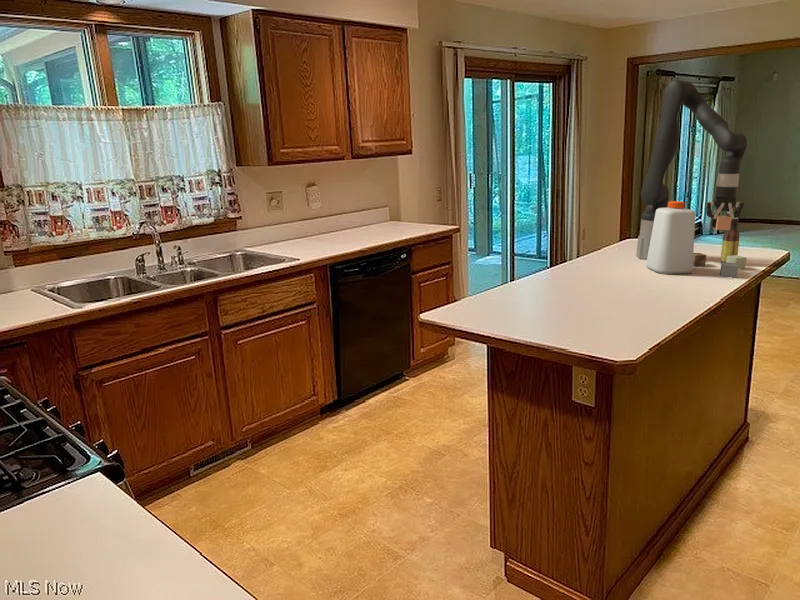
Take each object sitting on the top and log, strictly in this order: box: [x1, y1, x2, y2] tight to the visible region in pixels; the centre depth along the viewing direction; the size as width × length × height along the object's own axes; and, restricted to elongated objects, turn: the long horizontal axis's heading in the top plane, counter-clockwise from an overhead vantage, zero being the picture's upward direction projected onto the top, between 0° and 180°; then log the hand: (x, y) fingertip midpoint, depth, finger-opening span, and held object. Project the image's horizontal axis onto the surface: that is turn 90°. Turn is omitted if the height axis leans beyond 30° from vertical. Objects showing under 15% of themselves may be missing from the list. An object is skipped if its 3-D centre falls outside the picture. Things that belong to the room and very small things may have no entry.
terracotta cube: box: [712, 215, 732, 231], centre depth 237 cm, size 5×5×5 cm
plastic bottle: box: [645, 200, 696, 275], centre depth 238 cm, size 15×15×28 cm
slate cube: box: [719, 261, 739, 279], centre depth 231 cm, size 5×5×5 cm
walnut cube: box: [693, 252, 707, 268], centre depth 250 cm, size 5×5×5 cm
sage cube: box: [726, 254, 747, 270], centre depth 244 cm, size 5×5×5 cm
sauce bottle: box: [720, 217, 740, 263], centre depth 249 cm, size 7×6×20 cm
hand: (721, 227), depth 237 cm, fingers closed on terracotta cube, 5 cm apart
